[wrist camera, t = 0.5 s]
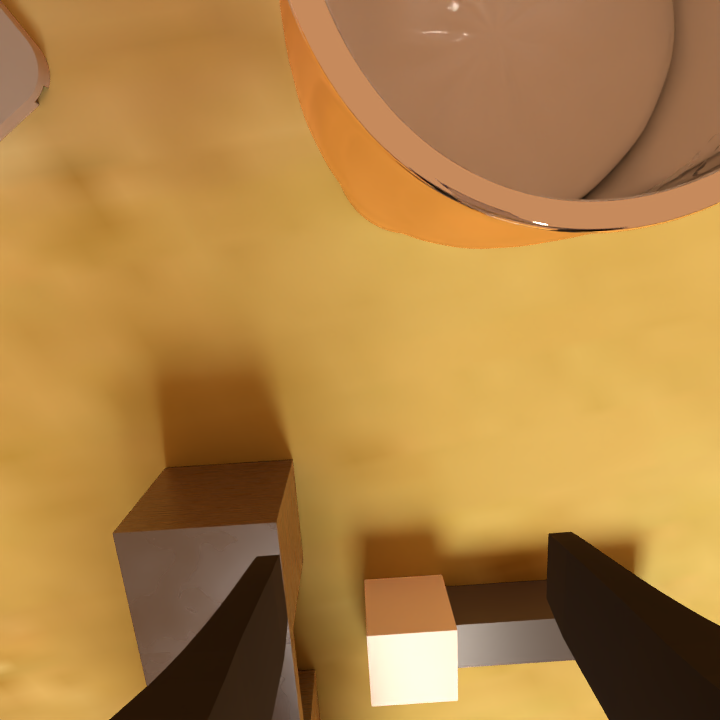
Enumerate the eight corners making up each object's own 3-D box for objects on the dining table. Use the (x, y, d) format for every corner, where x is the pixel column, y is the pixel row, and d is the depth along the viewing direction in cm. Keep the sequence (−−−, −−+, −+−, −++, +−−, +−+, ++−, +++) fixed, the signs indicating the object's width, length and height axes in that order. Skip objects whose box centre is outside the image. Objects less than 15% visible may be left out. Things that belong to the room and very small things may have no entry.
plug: (628, 624, 25) (672, 685, 21) (368, 642, 25) (371, 706, 21) (634, 561, 24) (682, 614, 20) (364, 579, 23) (366, 636, 20)
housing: (322, 746, 26) (317, 860, 21) (218, 753, 26) (188, 869, 21) (292, 459, 22) (276, 522, 17) (165, 467, 22) (112, 533, 17)
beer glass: (312, 68, 18) (138, -758, 3) (493, 47, 18) (1192, -889, 3) (334, 253, 19) (292, 289, 5) (498, 235, 19) (957, 215, 5)
